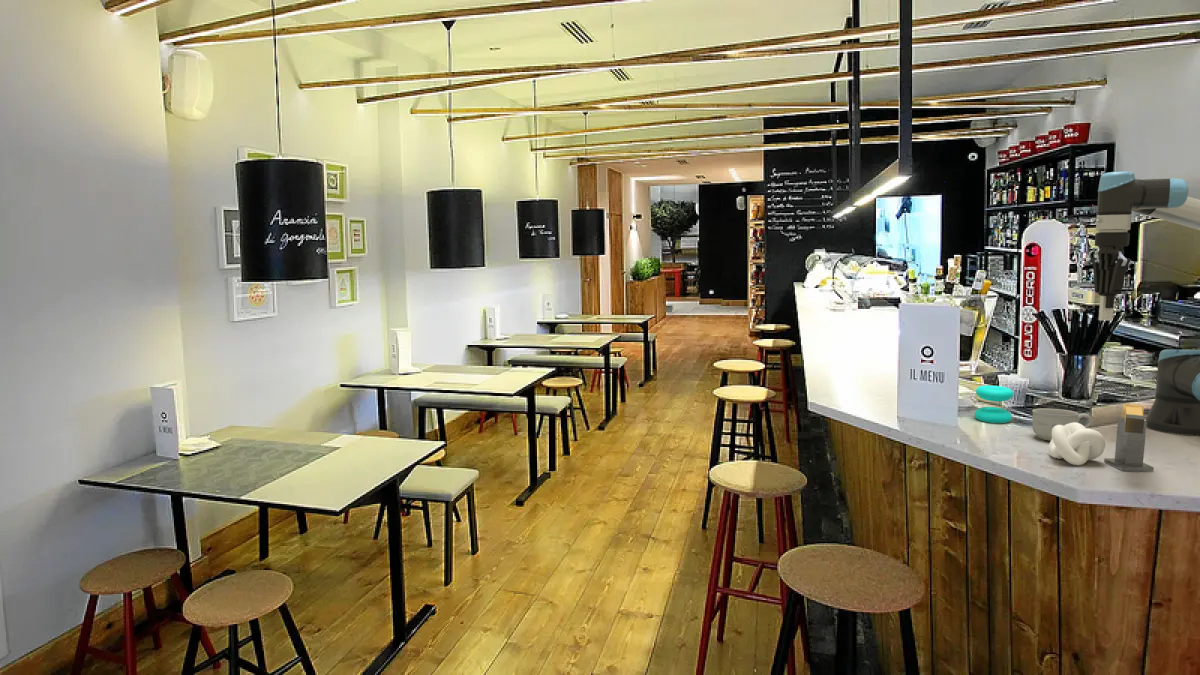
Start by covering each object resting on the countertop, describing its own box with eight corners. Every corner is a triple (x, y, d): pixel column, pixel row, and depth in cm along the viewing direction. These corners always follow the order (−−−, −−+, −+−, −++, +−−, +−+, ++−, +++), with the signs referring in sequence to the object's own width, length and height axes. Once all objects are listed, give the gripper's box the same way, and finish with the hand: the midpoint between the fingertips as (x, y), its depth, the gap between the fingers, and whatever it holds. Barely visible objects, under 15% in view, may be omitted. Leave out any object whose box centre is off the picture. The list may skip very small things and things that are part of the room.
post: (1134, 462, 178) (1138, 416, 177) (1153, 471, 171) (1157, 423, 170) (1103, 462, 179) (1107, 415, 177) (1122, 471, 172) (1126, 422, 170)
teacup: (1031, 441, 197) (1033, 412, 196) (1029, 432, 207) (1031, 404, 206) (1093, 448, 191) (1095, 418, 190) (1088, 438, 200) (1090, 409, 199)
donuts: (970, 384, 225) (1003, 384, 225) (968, 416, 226) (1001, 416, 226) (985, 391, 215) (1020, 391, 215) (983, 424, 216) (1018, 424, 216)
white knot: (1085, 471, 172) (1088, 434, 170) (1033, 459, 182) (1035, 424, 181) (1109, 463, 178) (1111, 427, 176) (1056, 452, 188) (1059, 418, 186)
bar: (1121, 415, 176) (1123, 402, 176) (1142, 417, 174) (1143, 404, 173) (1122, 431, 161) (1124, 417, 161) (1145, 434, 159) (1146, 419, 159)
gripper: (1083, 232, 200) (1077, 317, 203) (1112, 231, 188) (1105, 322, 191) (1112, 231, 200) (1105, 317, 203) (1143, 231, 187) (1135, 322, 190)
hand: (1105, 320), depth 197 cm, fingers closed
